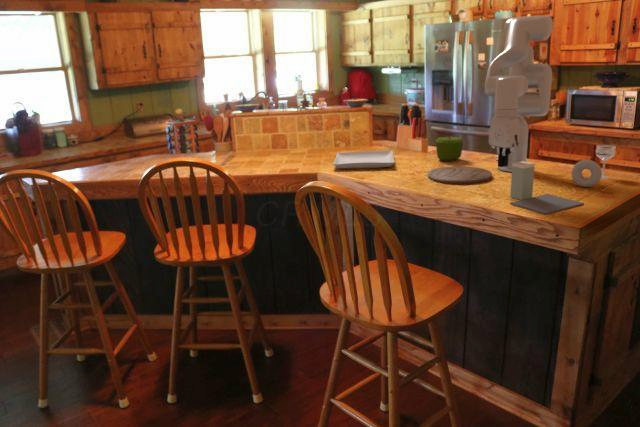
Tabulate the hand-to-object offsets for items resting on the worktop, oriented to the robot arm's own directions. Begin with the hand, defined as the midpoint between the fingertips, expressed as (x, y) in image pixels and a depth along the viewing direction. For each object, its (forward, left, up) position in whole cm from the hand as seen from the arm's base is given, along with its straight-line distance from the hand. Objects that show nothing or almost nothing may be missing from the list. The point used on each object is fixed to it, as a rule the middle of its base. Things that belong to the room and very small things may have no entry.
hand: (502, 166), depth 188 cm
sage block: (+9, 0, -10) cm, 13 cm away
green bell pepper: (-53, +22, -10) cm, 58 cm away
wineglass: (+8, +45, -10) cm, 47 cm away
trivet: (-26, +4, -10) cm, 28 cm away
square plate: (-72, -12, -10) cm, 74 cm away
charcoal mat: (+19, 0, -10) cm, 22 cm away
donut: (+13, +28, -10) cm, 32 cm away
